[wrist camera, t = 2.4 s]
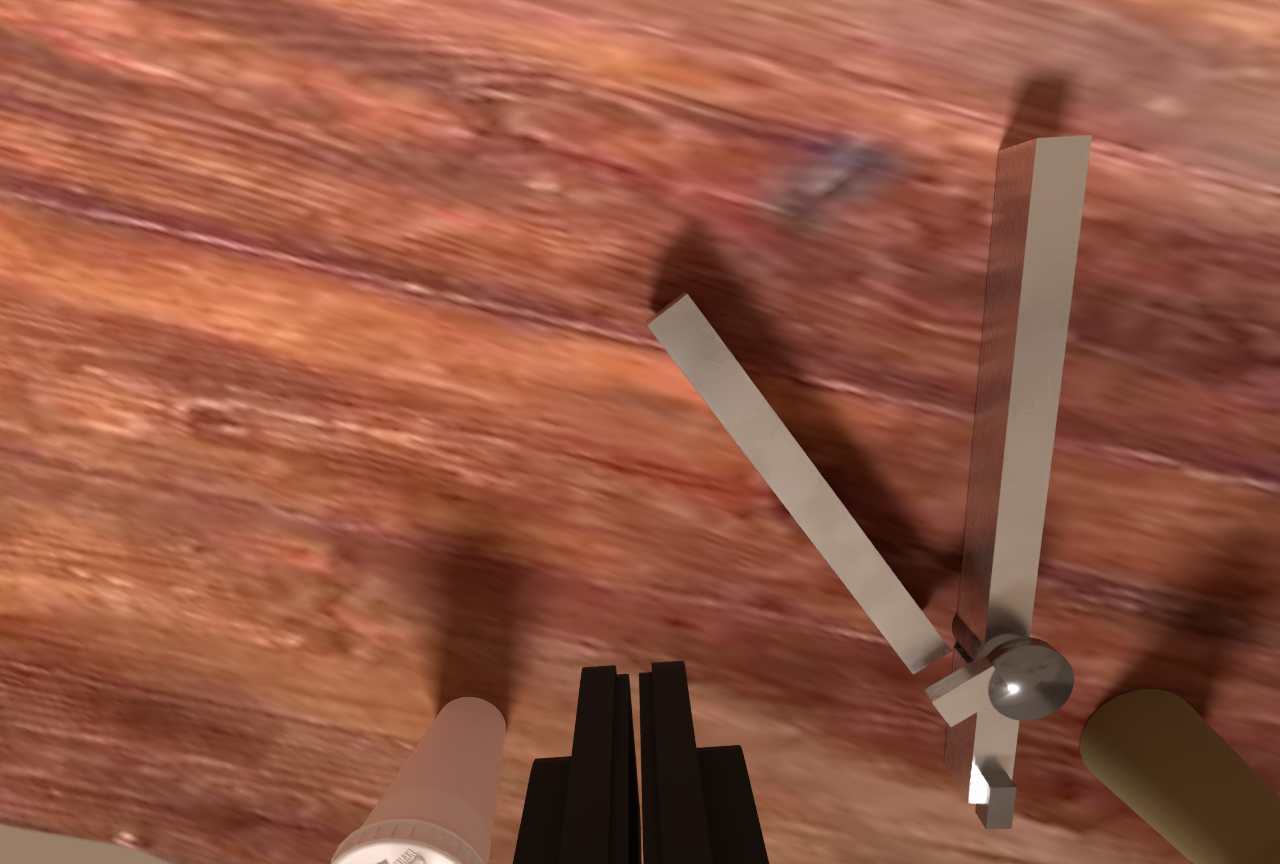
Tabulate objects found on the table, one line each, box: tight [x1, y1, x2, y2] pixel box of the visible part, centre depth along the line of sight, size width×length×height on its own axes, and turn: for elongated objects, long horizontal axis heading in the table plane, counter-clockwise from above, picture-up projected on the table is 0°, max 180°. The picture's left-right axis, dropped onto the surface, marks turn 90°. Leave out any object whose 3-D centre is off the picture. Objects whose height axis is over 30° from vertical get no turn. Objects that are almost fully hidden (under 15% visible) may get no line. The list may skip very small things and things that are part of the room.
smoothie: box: [331, 697, 506, 864], centre depth 26 cm, size 6×6×14 cm
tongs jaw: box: [647, 292, 1074, 727], centre depth 27 cm, size 6×24×4 cm, turn 38°
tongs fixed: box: [944, 135, 1092, 829], centre depth 28 cm, size 2×31×4 cm, turn 2°
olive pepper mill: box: [1080, 689, 1280, 864], centre depth 27 cm, size 6×6×11 cm
